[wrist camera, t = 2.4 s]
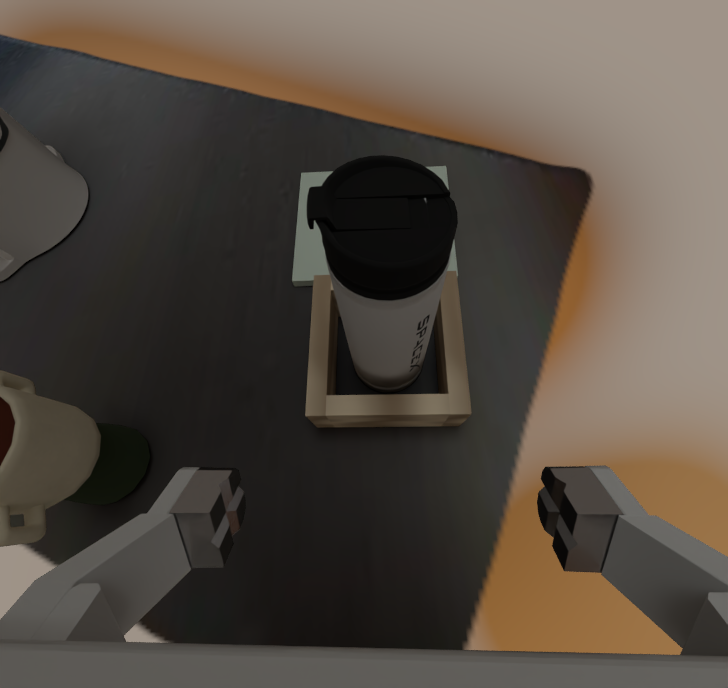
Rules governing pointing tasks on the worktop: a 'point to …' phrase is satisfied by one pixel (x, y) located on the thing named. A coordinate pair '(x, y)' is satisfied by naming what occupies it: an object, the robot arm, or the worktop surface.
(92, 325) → the worktop surface
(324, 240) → the travel mug
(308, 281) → the sage mat
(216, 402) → the worktop surface
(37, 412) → the character mug
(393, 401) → the birch holder
